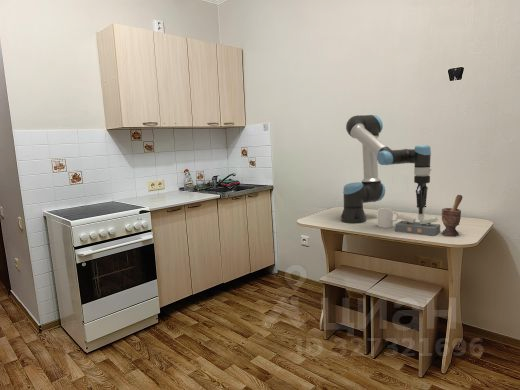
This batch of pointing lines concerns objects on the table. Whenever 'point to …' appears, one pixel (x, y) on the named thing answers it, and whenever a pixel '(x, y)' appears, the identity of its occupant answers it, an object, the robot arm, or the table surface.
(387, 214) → the mug
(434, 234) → the switch unit
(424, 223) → the rocker
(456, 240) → the table surface
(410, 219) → the rocker
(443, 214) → the mortar and pestle
